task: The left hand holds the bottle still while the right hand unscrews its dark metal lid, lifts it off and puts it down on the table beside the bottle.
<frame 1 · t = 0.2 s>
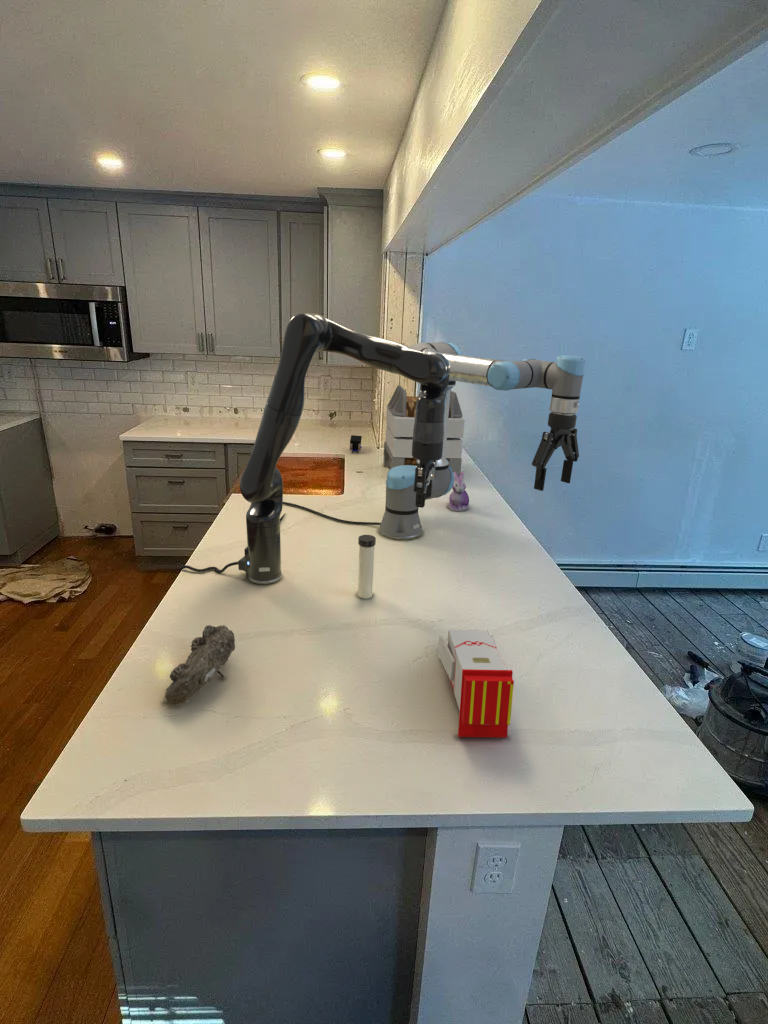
left hand: (423, 501, 143), 29 cm above the counter, tool pointing down, fingers open, 8 cm apart
right hand: (552, 485, 166), 28 cm above the counter, tool pointing down, fingers open, 13 cm apart
toy: (469, 691, 119), on the counter
lid: (367, 539, 151), point 17 cm above the counter, screwed on, not yet turned
figurine character: (355, 451, 311), on the counter
white storage crate: (419, 473, 275), on the counter
bottle: (365, 595, 156), on the counter
feather: (283, 517, 211), on the counter
fossil: (206, 676, 120), on the counter
figurine: (458, 508, 229), on the counter
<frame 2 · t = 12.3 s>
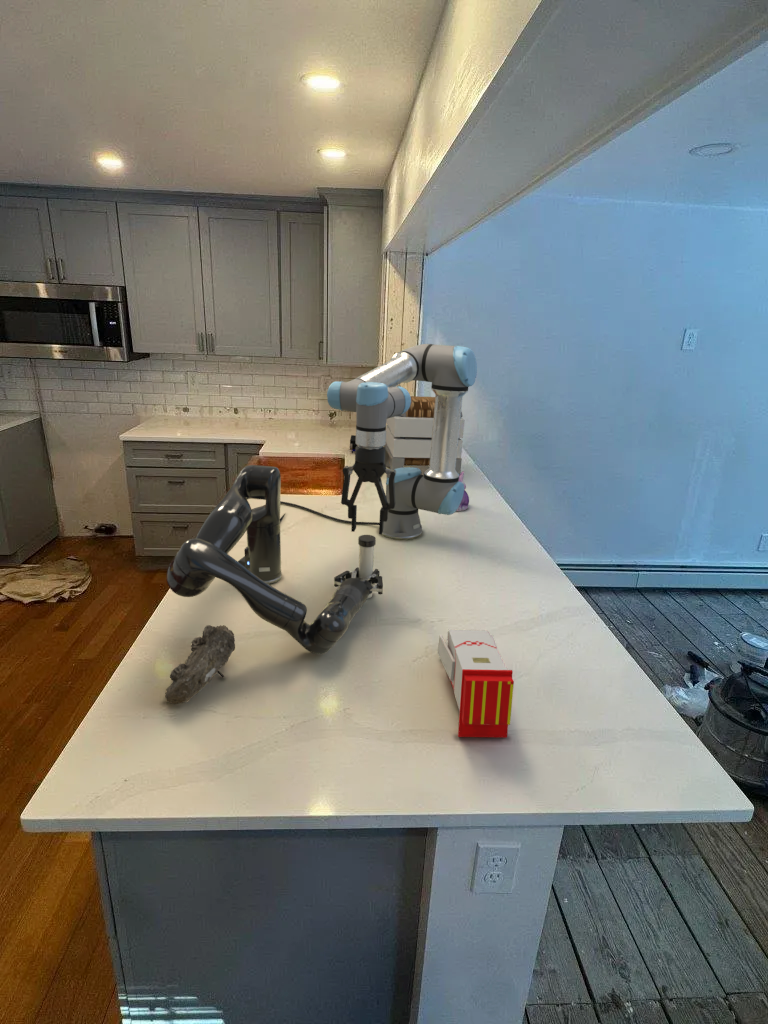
left hand: (368, 570, 157), 6 cm above the counter, tool horizontal, fingers closed on bottle, 4 cm apart
right hand: (367, 530, 150), 19 cm above the counter, tool pointing down, fingers open, 7 cm apart
bottle: (365, 595, 156), on the counter, touching left hand
everything else where it was.
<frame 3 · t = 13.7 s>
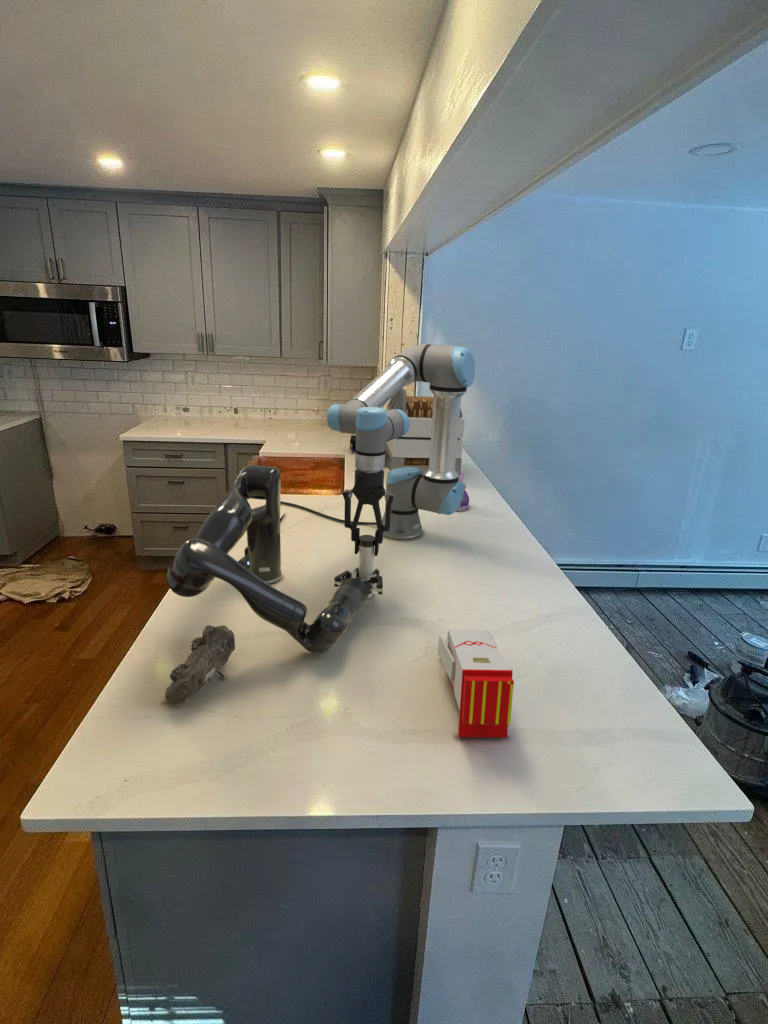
left hand: (368, 570, 157), 6 cm above the counter, tool horizontal, fingers closed on bottle, 4 cm apart
right hand: (366, 552, 152), 13 cm above the counter, tool pointing down, fingers closed on lid, 5 cm apart
lid: (367, 539, 151), point 17 cm above the counter, screwed on, not yet turned, touching right hand
bottle: (365, 595, 156), on the counter, touching left hand
everything else where it was.
when the right hand's fingers open (13 cm above the counter, at t = 15.0 s): lid stays where it is, point 17 cm above the counter.
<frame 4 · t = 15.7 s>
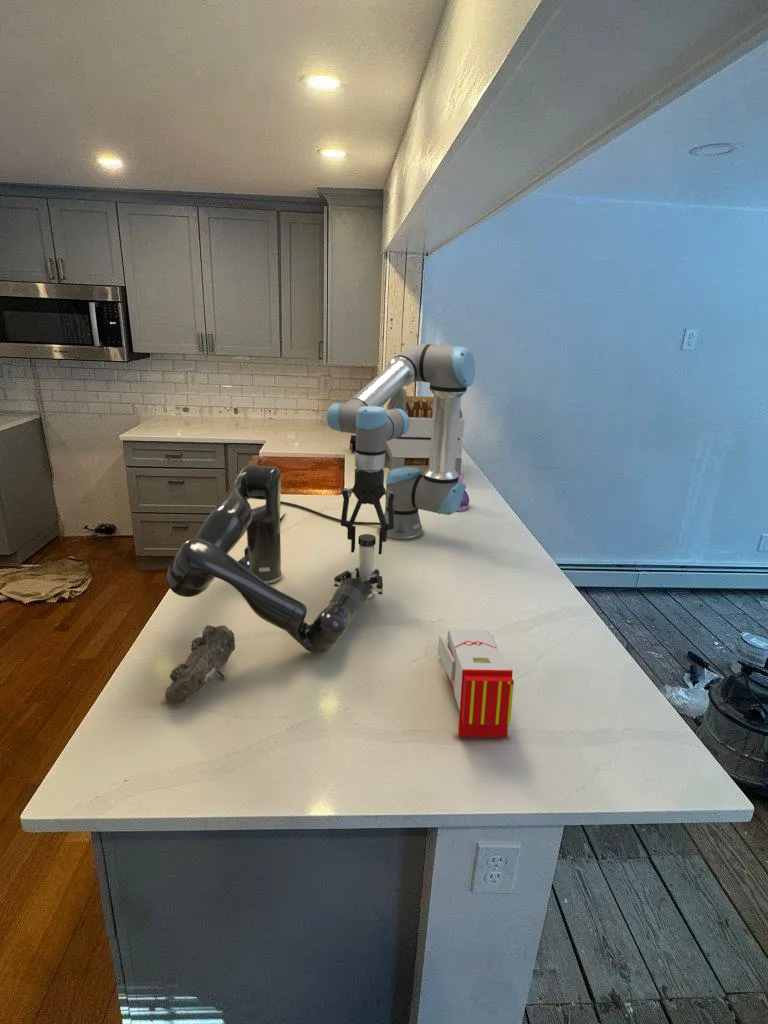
left hand: (368, 570, 157), 6 cm above the counter, tool horizontal, fingers closed on bottle, 4 cm apart
right hand: (366, 551, 152), 13 cm above the counter, tool pointing down, fingers open, 7 cm apart
lid: (367, 538, 151), point 17 cm above the counter, turned 82° so far, risen 0.2 cm, still on its thread
bottle: (365, 595, 156), on the counter, touching left hand
everything else where it was.
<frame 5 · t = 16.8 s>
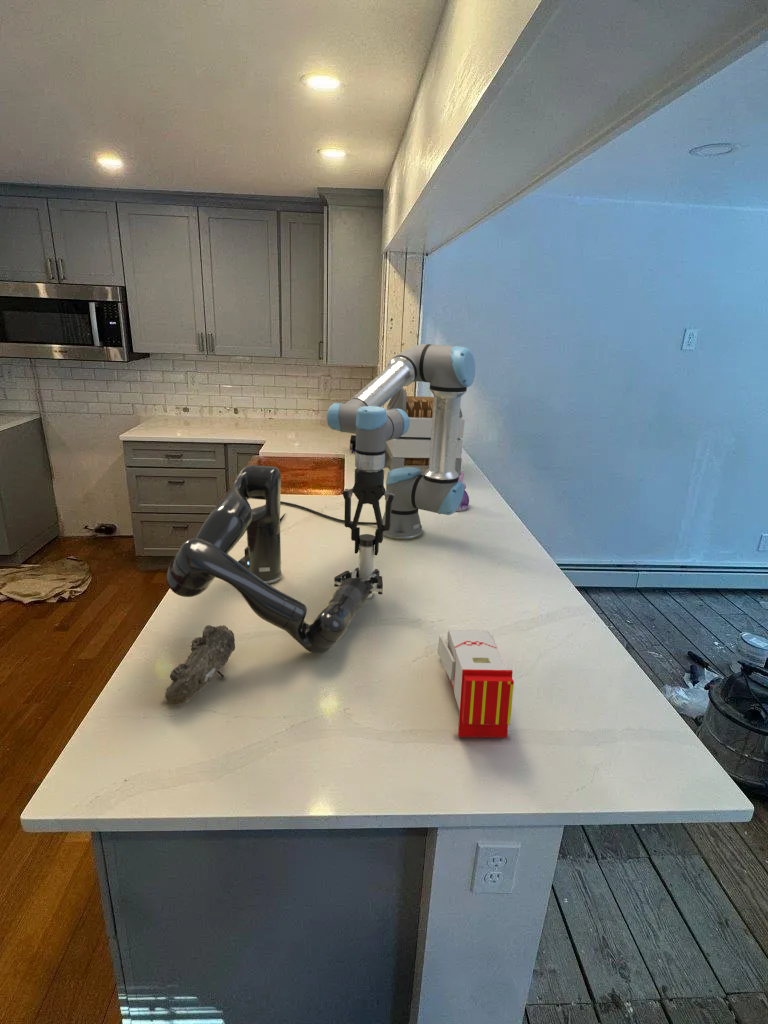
left hand: (368, 570, 157), 6 cm above the counter, tool horizontal, fingers closed on bottle, 4 cm apart
right hand: (366, 552, 152), 13 cm above the counter, tool pointing down, fingers closed on lid, 5 cm apart
lid: (367, 538, 151), point 17 cm above the counter, turned 82° so far, risen 0.2 cm, still on its thread, touching right hand
bottle: (365, 595, 156), on the counter, touching left hand
everything else where it was.
when the right hand's fingers open (0 cm above the counter, at t = 22.2 s): lid stays where it is, point 1 cm above the counter.
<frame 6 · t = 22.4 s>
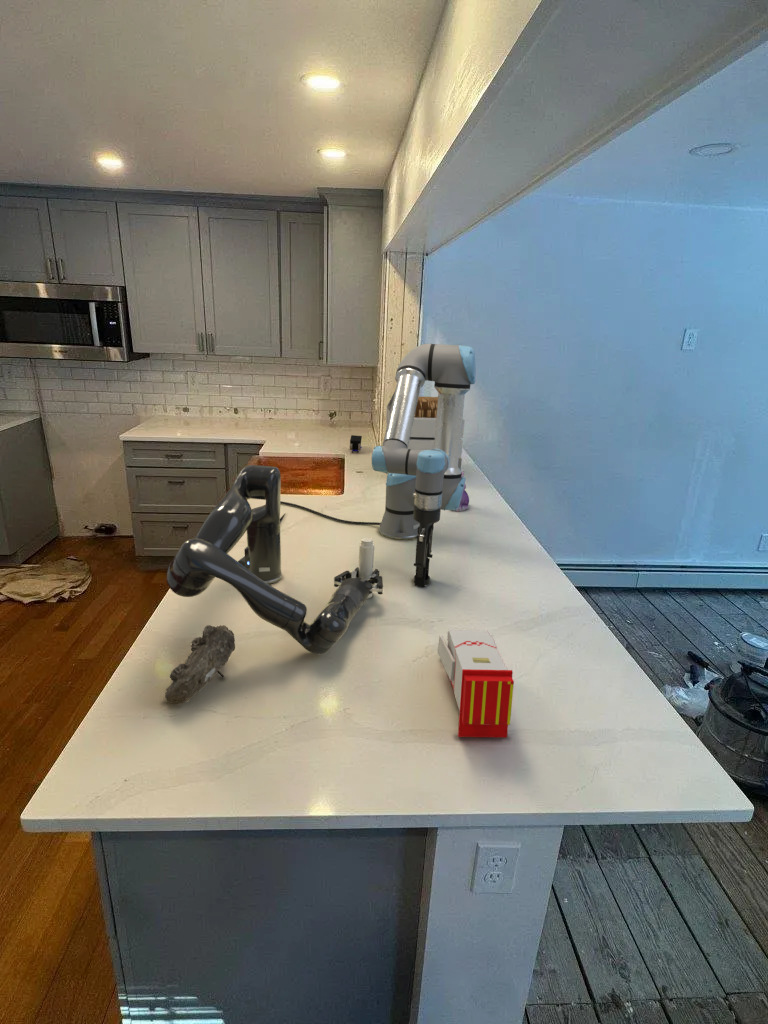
left hand: (368, 570, 157), 6 cm above the counter, tool horizontal, fingers closed on bottle, 4 cm apart
right hand: (421, 582, 165), 0 cm above the counter, tool pointing down, fingers open, 5 cm apart
lid: (422, 577, 165), point 1 cm above the counter, off its thread
bottle: (365, 595, 156), on the counter, touching left hand
everything else where it was.
when the left hand's fingers open (6 cm above the counter, at t = 23.8 s): bottle stays where it is, on the counter.
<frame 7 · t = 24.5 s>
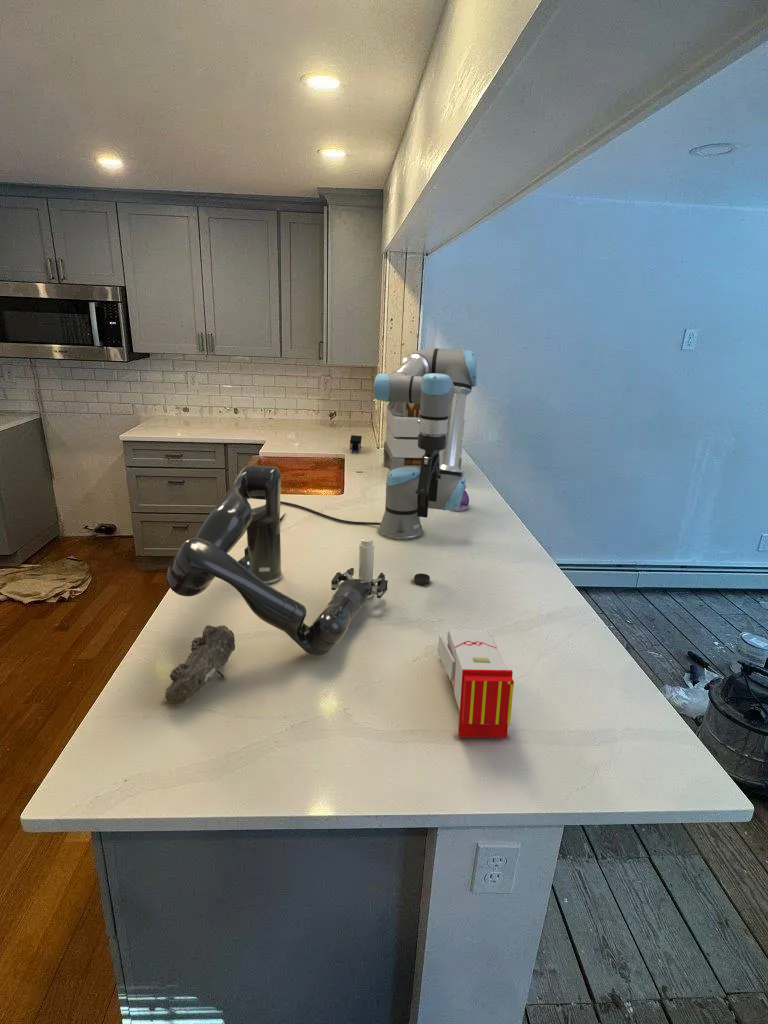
left hand: (367, 573, 156), 6 cm above the counter, tool horizontal, fingers open, 8 cm apart
right hand: (427, 508, 158), 23 cm above the counter, tool pointing down, fingers open, 13 cm apart
bottle: (365, 595, 156), on the counter
everything else where it was.
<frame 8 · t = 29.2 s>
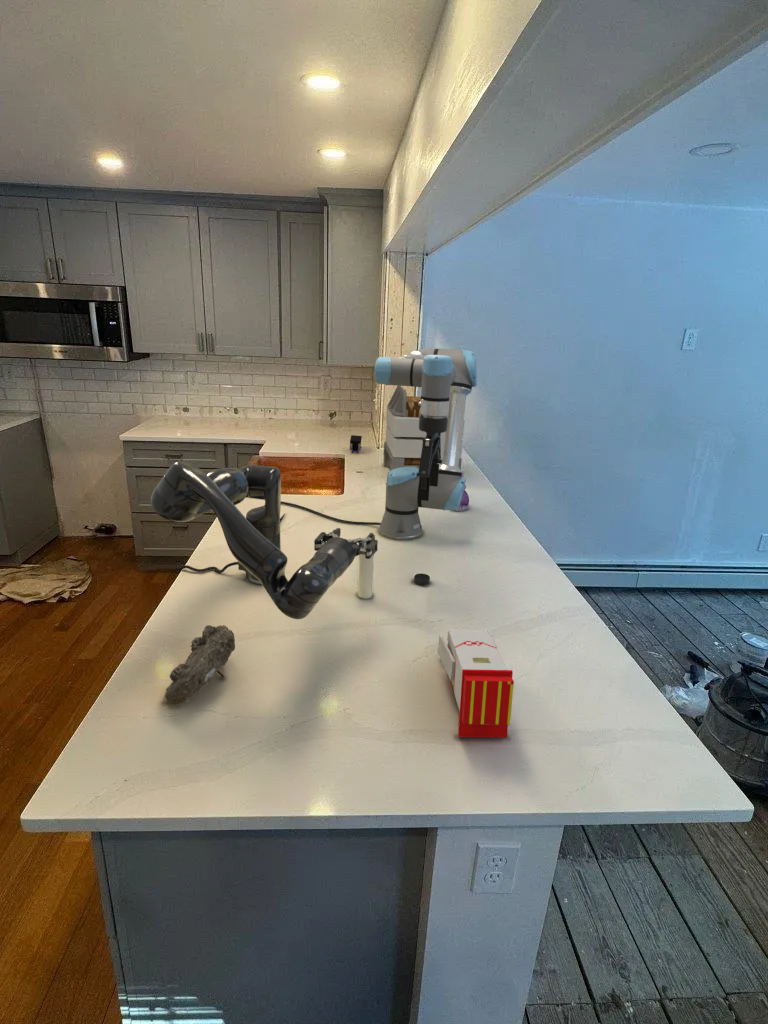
left hand: (355, 534, 140), 22 cm above the counter, tool horizontal, fingers open, 8 cm apart
right hand: (428, 492, 156), 27 cm above the counter, tool pointing down, fingers open, 13 cm apart
nothing on the counter moved.
at the end: lid came off its thread; lid point 1.3 cm above the counter; the left hand is holding nothing; the right hand is holding nothing; bottle tilted 0°; bottle moved 0.0 cm from its start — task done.
